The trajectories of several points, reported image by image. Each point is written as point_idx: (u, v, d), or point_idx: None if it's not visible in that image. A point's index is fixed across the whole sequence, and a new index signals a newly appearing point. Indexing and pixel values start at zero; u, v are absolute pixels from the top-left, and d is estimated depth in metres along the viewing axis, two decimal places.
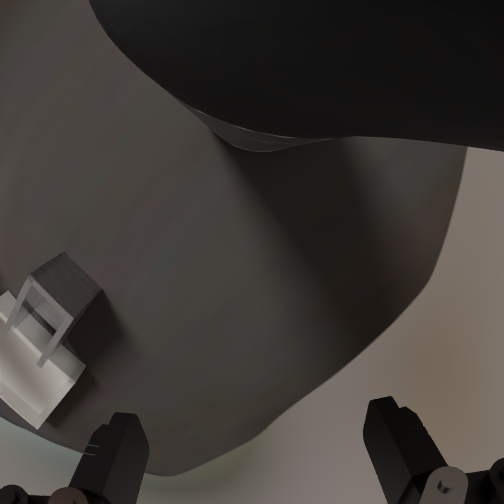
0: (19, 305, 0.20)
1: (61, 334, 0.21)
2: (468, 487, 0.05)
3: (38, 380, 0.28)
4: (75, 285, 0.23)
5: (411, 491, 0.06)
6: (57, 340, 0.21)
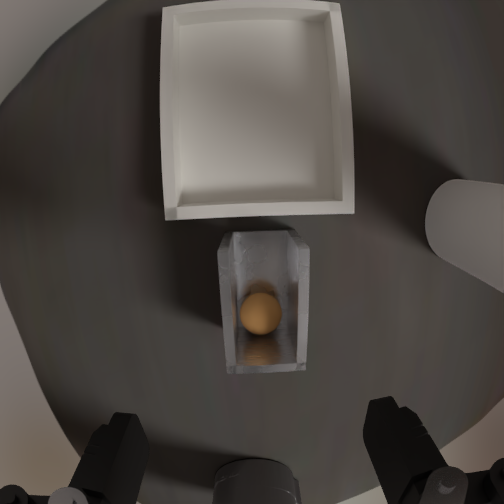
0: (299, 323, 0.18)
1: (226, 342, 0.18)
2: (468, 487, 0.05)
3: (217, 107, 0.19)
4: None
5: (411, 491, 0.06)
6: (225, 330, 0.18)
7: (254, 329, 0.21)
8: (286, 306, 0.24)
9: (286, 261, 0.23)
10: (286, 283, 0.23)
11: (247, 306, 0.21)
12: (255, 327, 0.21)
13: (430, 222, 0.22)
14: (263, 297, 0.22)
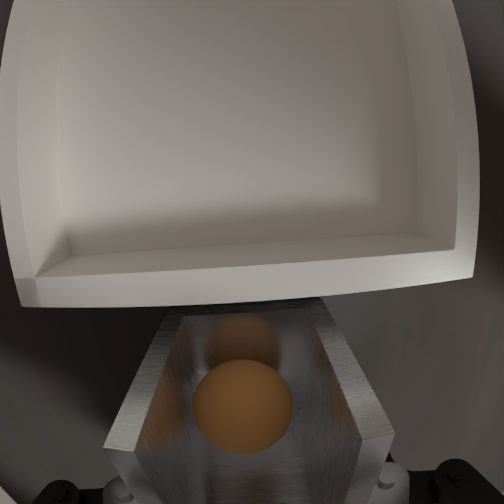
0: None
1: None
2: (411, 486, 0.05)
3: (135, 29, 0.07)
4: None
5: None
6: None
7: (220, 369, 0.08)
8: (301, 435, 0.11)
9: (304, 368, 0.10)
10: (302, 403, 0.10)
11: None
12: (223, 366, 0.09)
13: None
14: None
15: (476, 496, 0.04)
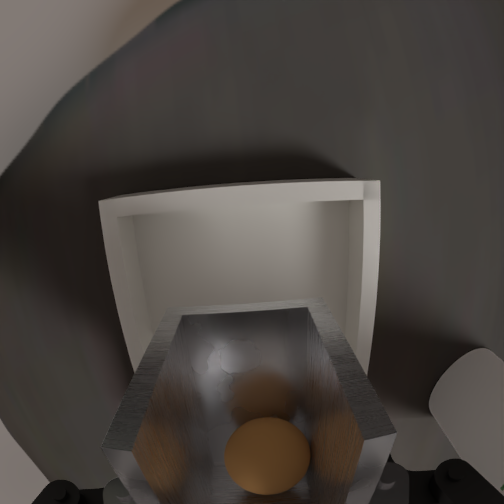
0: None
1: None
2: (411, 485, 0.05)
3: None
4: None
5: None
6: None
7: (258, 491, 0.08)
8: None
9: (304, 367, 0.10)
10: (303, 403, 0.10)
11: (237, 451, 0.08)
12: (260, 488, 0.08)
13: (435, 402, 0.19)
14: (269, 430, 0.09)
15: (476, 496, 0.04)
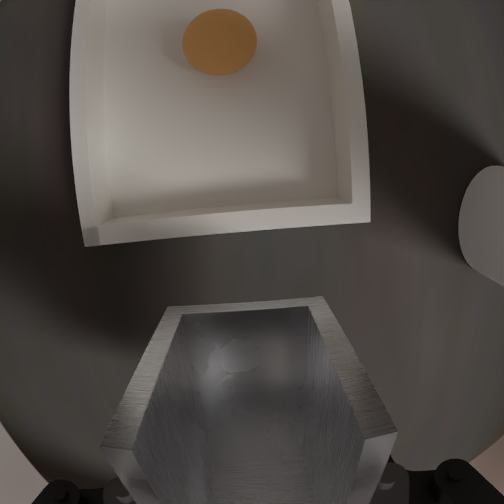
0: None
1: None
2: (411, 485, 0.05)
3: (155, 73, 0.12)
4: None
5: None
6: None
7: (211, 25, 0.09)
8: (301, 434, 0.11)
9: (304, 366, 0.10)
10: (303, 402, 0.10)
11: None
12: (214, 21, 0.09)
13: (467, 225, 0.15)
14: None
15: (476, 496, 0.04)
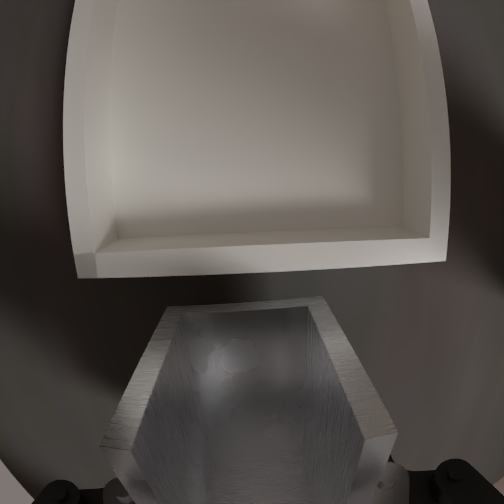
0: None
1: None
2: (411, 486, 0.05)
3: (180, 52, 0.09)
4: None
5: None
6: None
7: None
8: (301, 435, 0.11)
9: (304, 366, 0.10)
10: (303, 402, 0.10)
11: None
12: None
13: None
14: None
15: (476, 496, 0.04)
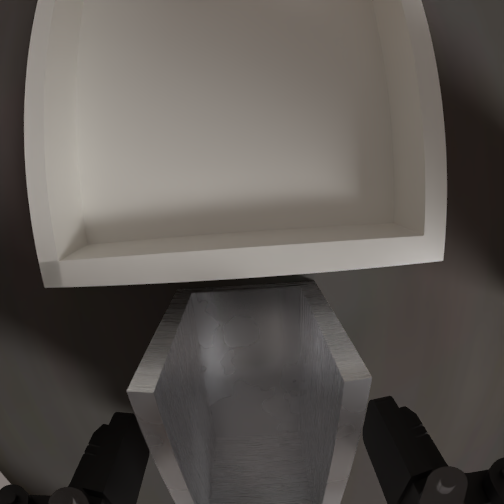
0: (327, 493, 0.07)
1: None
2: (467, 487, 0.05)
3: (145, 44, 0.08)
4: None
5: (410, 491, 0.06)
6: (178, 502, 0.07)
7: None
8: (296, 409, 0.12)
9: (298, 342, 0.11)
10: (297, 377, 0.12)
11: None
12: None
13: None
14: None
15: None
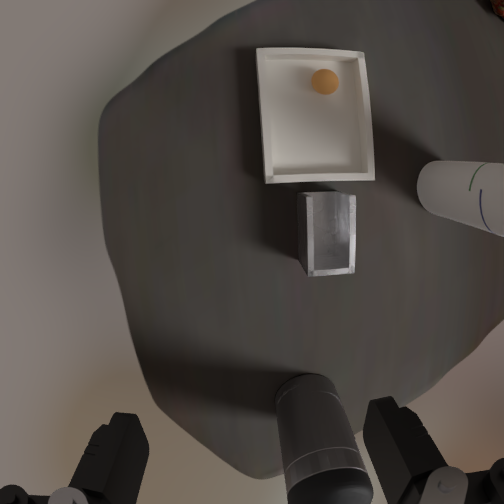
0: (350, 240, 0.31)
1: (309, 254, 0.31)
2: (468, 487, 0.05)
3: (291, 116, 0.32)
4: None
5: (411, 491, 0.06)
6: (308, 245, 0.31)
7: None
8: (334, 241, 0.36)
9: (334, 211, 0.35)
10: (334, 225, 0.36)
11: None
12: None
13: (420, 187, 0.34)
14: None
15: None
